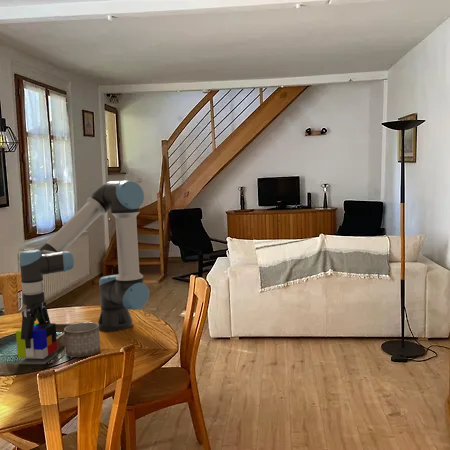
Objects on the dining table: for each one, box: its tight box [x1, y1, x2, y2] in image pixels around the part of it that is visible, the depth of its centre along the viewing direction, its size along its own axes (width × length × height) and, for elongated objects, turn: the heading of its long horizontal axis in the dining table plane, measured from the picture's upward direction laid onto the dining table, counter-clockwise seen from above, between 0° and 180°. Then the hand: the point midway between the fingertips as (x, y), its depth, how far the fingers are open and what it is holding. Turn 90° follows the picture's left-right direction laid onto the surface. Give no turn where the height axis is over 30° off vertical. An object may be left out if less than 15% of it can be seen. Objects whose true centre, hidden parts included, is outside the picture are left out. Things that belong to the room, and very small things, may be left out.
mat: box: [18, 352, 58, 365], centre depth 186 cm, size 10×10×1 cm
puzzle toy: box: [15, 322, 58, 359], centre depth 186 cm, size 10×10×10 cm
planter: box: [64, 321, 101, 358], centre depth 190 cm, size 13×13×10 cm
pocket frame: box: [52, 322, 76, 353], centre depth 204 cm, size 23×14×4 cm, turn 173°
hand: (37, 350), depth 186 cm, fingers open, 10 cm apart
